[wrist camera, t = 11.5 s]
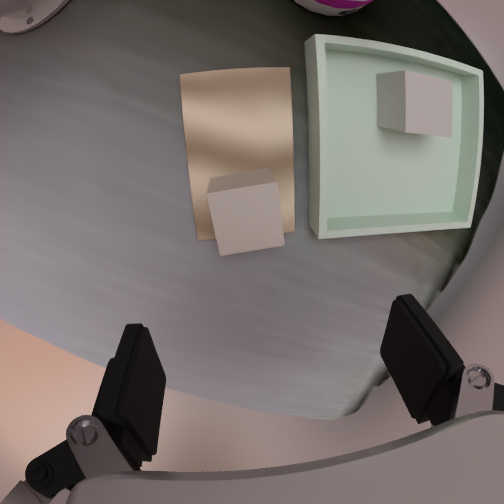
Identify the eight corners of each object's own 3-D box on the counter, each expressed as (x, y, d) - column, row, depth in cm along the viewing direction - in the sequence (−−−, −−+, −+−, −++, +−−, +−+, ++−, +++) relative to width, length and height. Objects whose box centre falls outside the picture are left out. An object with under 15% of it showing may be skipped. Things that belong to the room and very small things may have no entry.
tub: (304, 42, 21) (314, 33, 18) (461, 70, 22) (482, 70, 19) (308, 223, 29) (318, 239, 26) (452, 215, 29) (470, 227, 26)
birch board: (180, 75, 22) (179, 74, 21) (288, 68, 22) (289, 67, 21) (198, 237, 28) (197, 240, 28) (293, 229, 29) (294, 232, 28)
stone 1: (210, 177, 25) (206, 193, 21) (268, 168, 25) (277, 182, 21) (220, 230, 28) (220, 256, 23) (275, 221, 28) (284, 245, 23)
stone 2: (376, 73, 22) (404, 70, 17) (420, 81, 22) (451, 81, 18) (376, 126, 24) (405, 132, 20) (419, 130, 24) (451, 138, 20)
